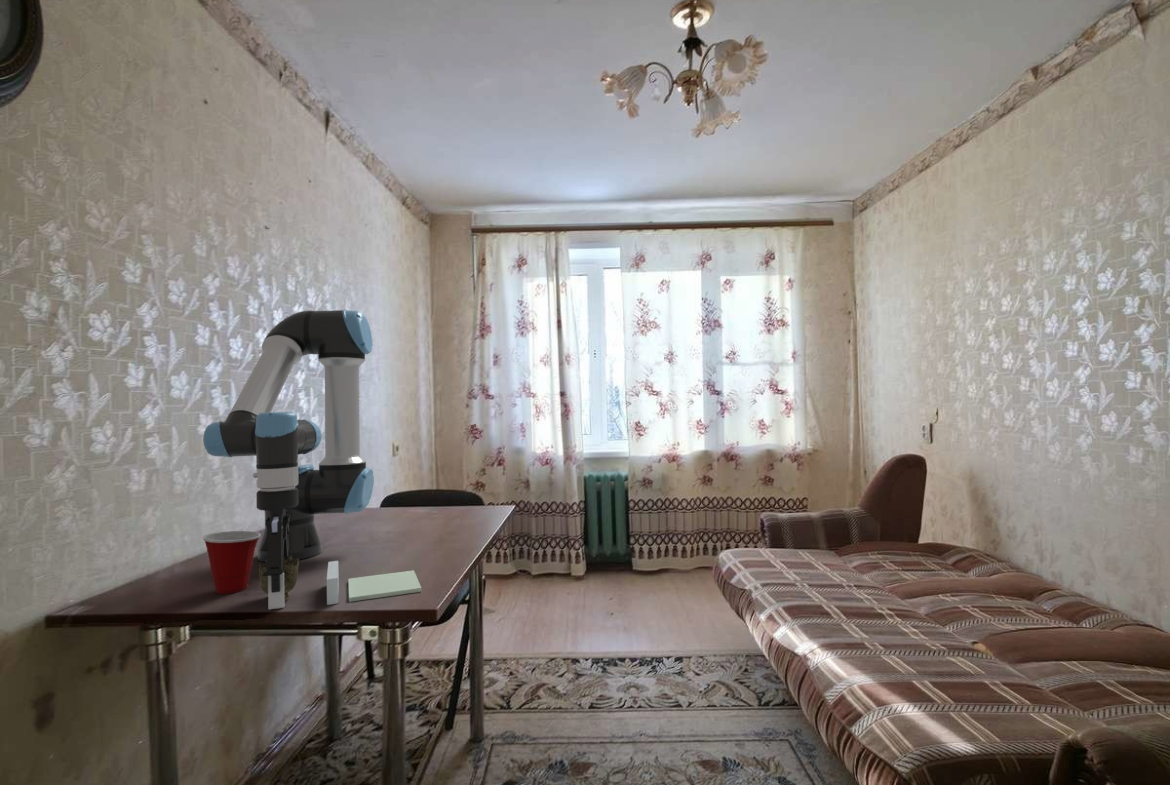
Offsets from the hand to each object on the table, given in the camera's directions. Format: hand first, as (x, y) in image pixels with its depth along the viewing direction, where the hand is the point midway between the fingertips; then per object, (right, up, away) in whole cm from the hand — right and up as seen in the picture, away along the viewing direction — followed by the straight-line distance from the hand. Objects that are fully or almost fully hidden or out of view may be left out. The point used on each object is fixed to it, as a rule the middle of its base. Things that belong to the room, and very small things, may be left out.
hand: (279, 600), depth 118 cm
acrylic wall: (+9, 0, +4) cm, 10 cm away
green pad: (+19, 0, +8) cm, 20 cm away
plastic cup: (-14, -1, +8) cm, 16 cm away
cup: (0, 0, 0) cm, 0 cm away
